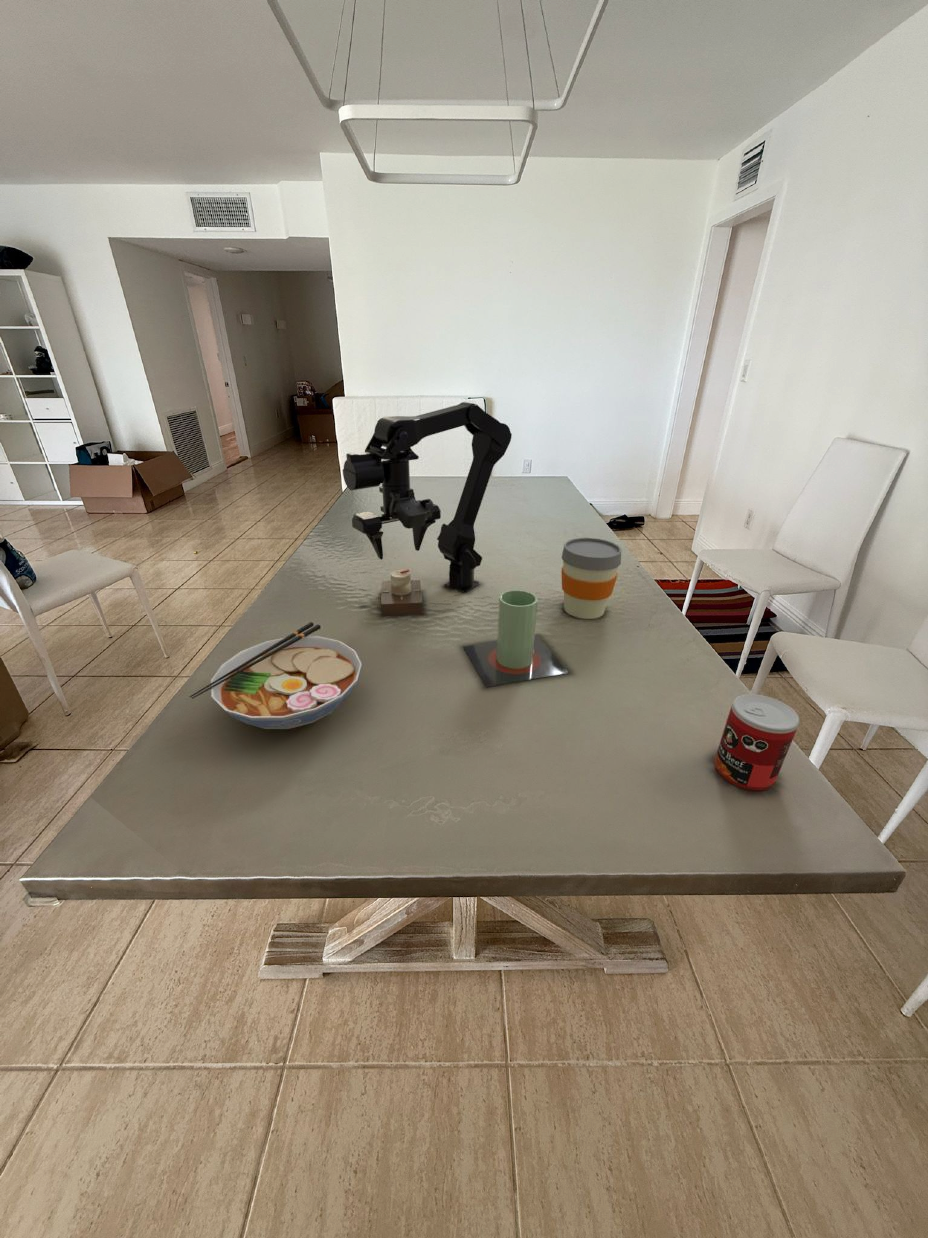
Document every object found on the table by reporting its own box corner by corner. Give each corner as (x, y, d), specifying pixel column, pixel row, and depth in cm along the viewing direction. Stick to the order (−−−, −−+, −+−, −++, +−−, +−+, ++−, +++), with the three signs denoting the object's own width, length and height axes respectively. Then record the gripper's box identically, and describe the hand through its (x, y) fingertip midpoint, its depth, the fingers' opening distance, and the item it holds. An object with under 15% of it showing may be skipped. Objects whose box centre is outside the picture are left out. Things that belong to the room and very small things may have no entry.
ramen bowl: (282, 785, 71) (272, 739, 67) (182, 726, 81) (168, 683, 78) (397, 693, 90) (394, 653, 86) (303, 654, 100) (297, 617, 96)
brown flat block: (382, 592, 125) (381, 580, 123) (420, 591, 126) (419, 579, 124) (381, 616, 114) (380, 603, 113) (422, 614, 115) (422, 601, 114)
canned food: (703, 754, 77) (722, 694, 72) (754, 751, 78) (776, 692, 73) (731, 794, 71) (753, 731, 65) (786, 790, 71) (813, 728, 66)
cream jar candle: (397, 597, 116) (396, 577, 113) (388, 590, 119) (386, 570, 116) (414, 592, 118) (414, 572, 116) (404, 585, 121) (403, 566, 119)
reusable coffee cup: (614, 602, 122) (624, 541, 114) (609, 626, 111) (620, 561, 104) (561, 594, 125) (567, 534, 118) (551, 617, 115) (558, 553, 108)
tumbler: (500, 647, 103) (503, 587, 97) (534, 652, 101) (540, 592, 95) (492, 665, 97) (495, 603, 91) (528, 671, 96) (534, 608, 89)
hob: (463, 647, 103) (463, 646, 103) (537, 636, 107) (537, 635, 107) (486, 687, 91) (486, 686, 91) (568, 673, 96) (568, 672, 96)
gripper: (374, 499, 96) (379, 576, 104) (455, 485, 106) (455, 556, 113) (347, 486, 104) (354, 559, 111) (425, 474, 114) (427, 542, 121)
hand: (399, 554), depth 114 cm, fingers open, 9 cm apart
